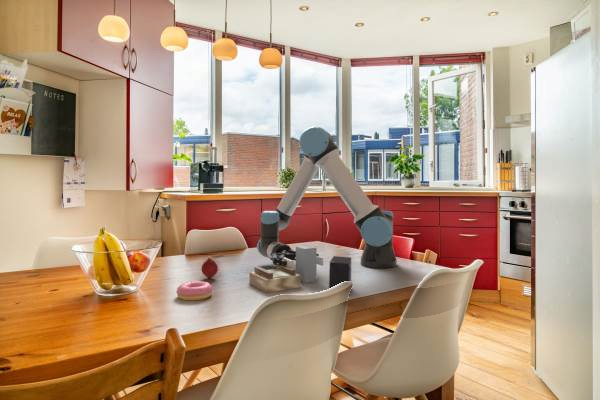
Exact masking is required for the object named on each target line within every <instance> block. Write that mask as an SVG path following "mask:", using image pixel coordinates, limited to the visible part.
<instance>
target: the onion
mask: <svg viewBox="0 0 600 400" xmlns="http://www.w3.org/2000/svg"><path fill="white" fill-rule="evenodd" d="M200 270H201V273H202V274H203V276H205V277H206V279H212V278H213V277H214V276H216V275H217V272H218V271H219V267H218V264H217V262H216V261H215V260H214V259H212V258H211V257H210V256H208V257H207V259H206V260H205V261H204V262H203V264H202V265H201V269H200Z"/></svg>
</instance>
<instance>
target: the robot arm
mask: <svg viewBox="0 0 600 400" xmlns="http://www.w3.org/2000/svg"><path fill="white" fill-rule="evenodd" d="M299 147H300V149H301V152H302V153H303V160H302V162H301V164H300V166H299V168H298V170H297V172H296V173H295V175H294V177H293V179H292V180H291V182H290V183H289V186H288V188H287V189H286V191H285V193H284V194H283V196H282V198H281V199H280V202H279V204H278V206H277V207H276V209H275V210H264V211H262V212H261V216H260V239H259V240H258V242H257V244H256V250H257V252H258V254H260V255H261V256H263V257H265V258H268V259H270V261H272V264H273V265H275V266H276V265H277V264H280V265H284V266H286V267H289V268H292V269H294V261H295V262H296V250H293V249H292V248H291V247H290V245H288V244H285V243H282V242H279V240H280V239H279V237H280V235H279V234H280V231H282V230H285V229H286V228H288V226H289V224H290V220H291V217H292V216H293V214H294V212H295V210H296V209H297V207H298V205H300V202H301V200H302V199H303V197H304V195H305V193H306V191H307V190H308V188H309V186H310V184H311V183H312V181H313V180H314V177H315V176H316V174H317V172H318V171H319V169H321V170H322V171H323V173H324V175H325V176H326V178H327V179H328V181H329V182H330V183H331V185H332V186H333V188H334V189H335V191H336V192H337V193H338V195H339V196H340V198H341V200H342V202H344V204H345V205H346V207H347V208H348V209H349V211H350V212H351V214H352V215H353V217H354V219H353V224H354V226H356V228H357V230H358V231H359V232H360V235H361V238H362V240H363V241H364V248H363V251H362V253H361V257H360V265H362V266H363V267H367V268H373V269H376V268H377V269H389V268H391V269H392V268H394V267H395V268H396V267H397V264H398V261H397V260H398V259H397V256H396V254H395V250H394V246H393V245H394V241H393V240H394V239H393V238H394V213H393V211H391V210H383V209H381V208H380V206H379V205H375V204H373V203H372V201H371V200H370V198H369V197H368V196H367V194H366V192H365V191H364V190H363V189H362V187H361V185H360V184H359V182H358V181H357V180H356V178H355V177H354V175H352V172H351V171H350V170H349V168H348V167H347V166H346V164H345V163H344V162H343V160H342V158H341V157H340V156H339V152H340V151H339V150H340V149H339V148H338V146H337V145H336V143H335V141H334V138H333V136H332V135H331V133H330V132H328V131H326V130H325V129H324V128H323V127H320V126H310V127H308V128H307V129H305V130H303V132H302V133H301V135H300V138H299ZM316 265H319V266H324V257H321V256H320V255H319V253H317V264H316Z"/></svg>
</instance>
